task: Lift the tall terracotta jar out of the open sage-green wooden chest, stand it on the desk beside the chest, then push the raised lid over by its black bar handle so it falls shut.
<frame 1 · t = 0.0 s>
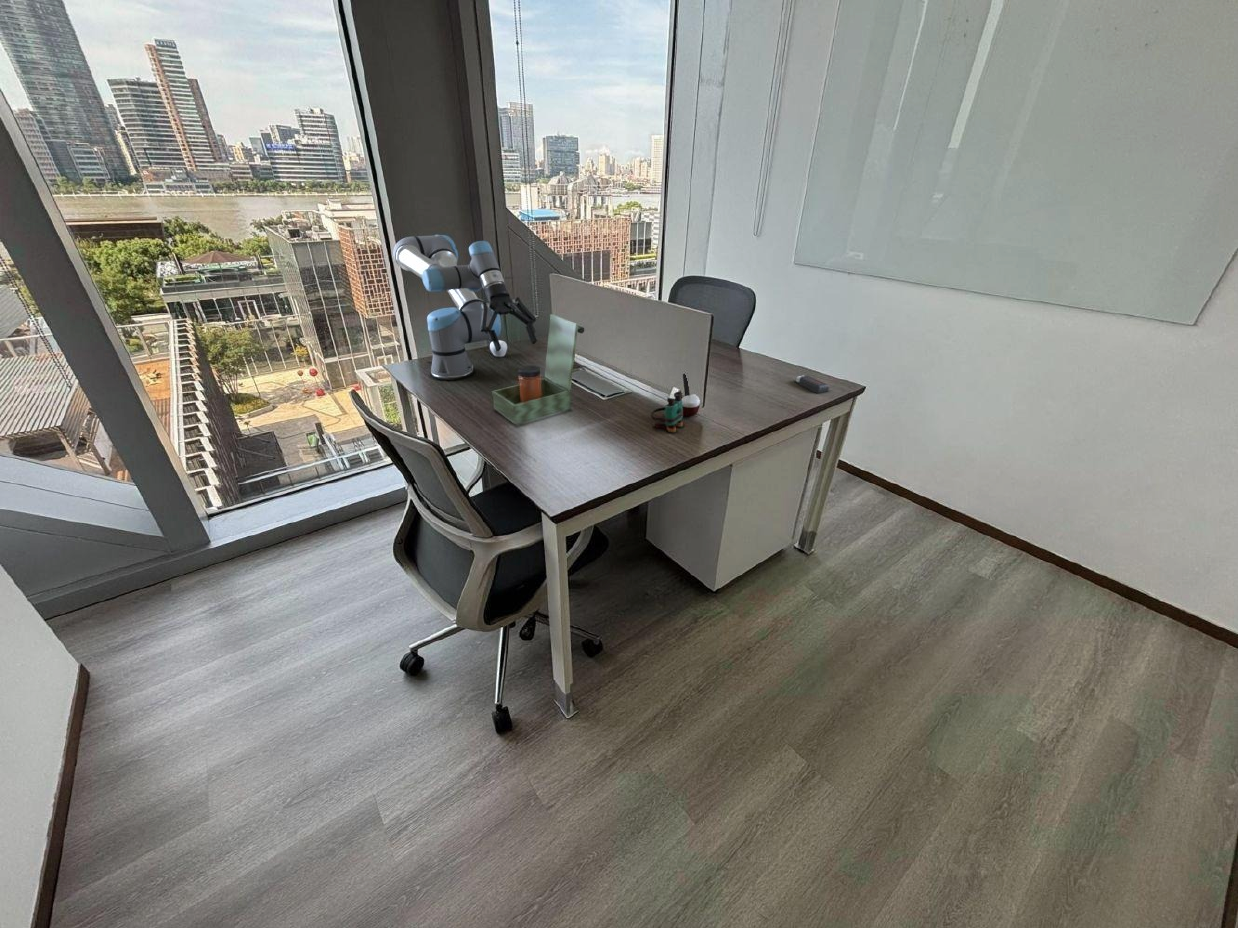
hand: (517, 346, 166), 15 cm above the table, tool tilted 35°, fingers open, 13 cm apart
chest: (532, 410, 157), on the table
plain white apple: (499, 356, 205), on the table
jar: (532, 408, 157), point 1 cm above the table, touching chest
rice bowl with chopsticks: (688, 414, 157), on the table
usb drive: (810, 387, 180), on the table
beverage can: (559, 378, 183), on the table
binoculars: (665, 426, 150), on the table
lid: (567, 351, 157), point 17 cm above the table, hinge at 100.0°
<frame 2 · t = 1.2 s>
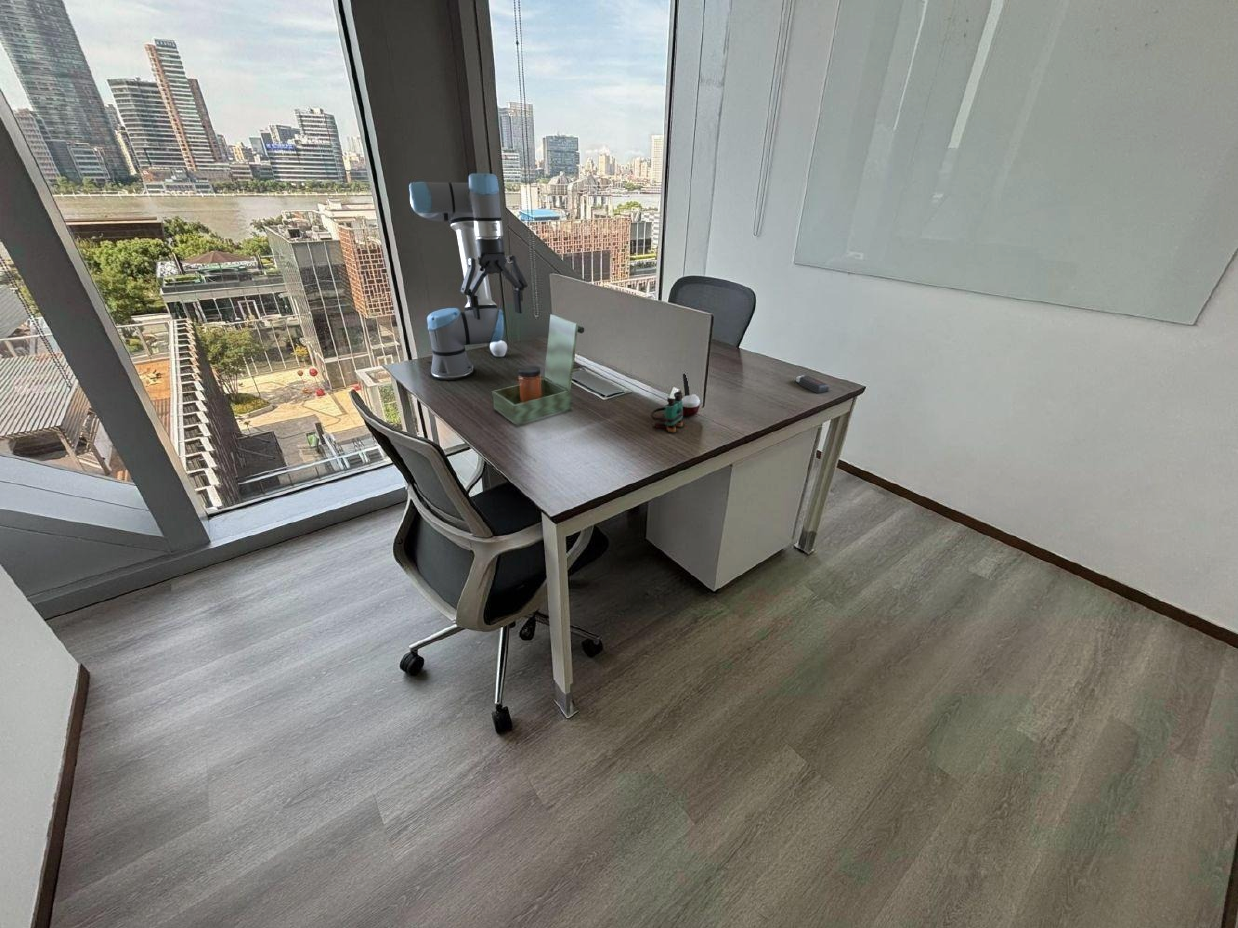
hand: (498, 315, 146), 29 cm above the table, tool pointing down, fingers open, 13 cm apart
nothing on the table moved.
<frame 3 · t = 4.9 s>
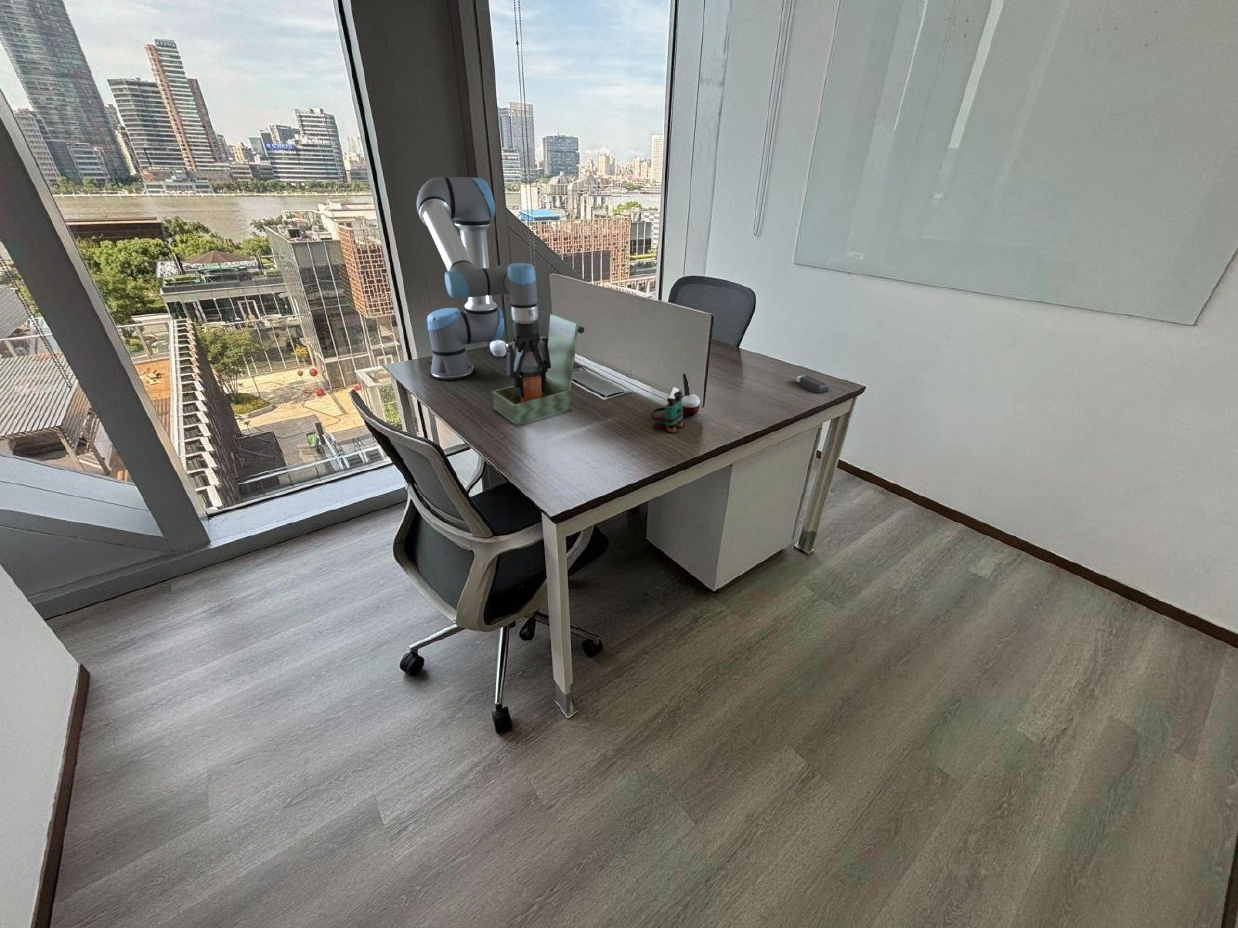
hand: (531, 393, 154), 6 cm above the table, tool pointing down, fingers closed on jar, 7 cm apart
jar: (532, 408, 157), point 1 cm above the table, touching chest, gripper
everything else where it was.
when the fingers open (5 cm above the table, at t = 11.6 s): jar stays where it is, on the table.
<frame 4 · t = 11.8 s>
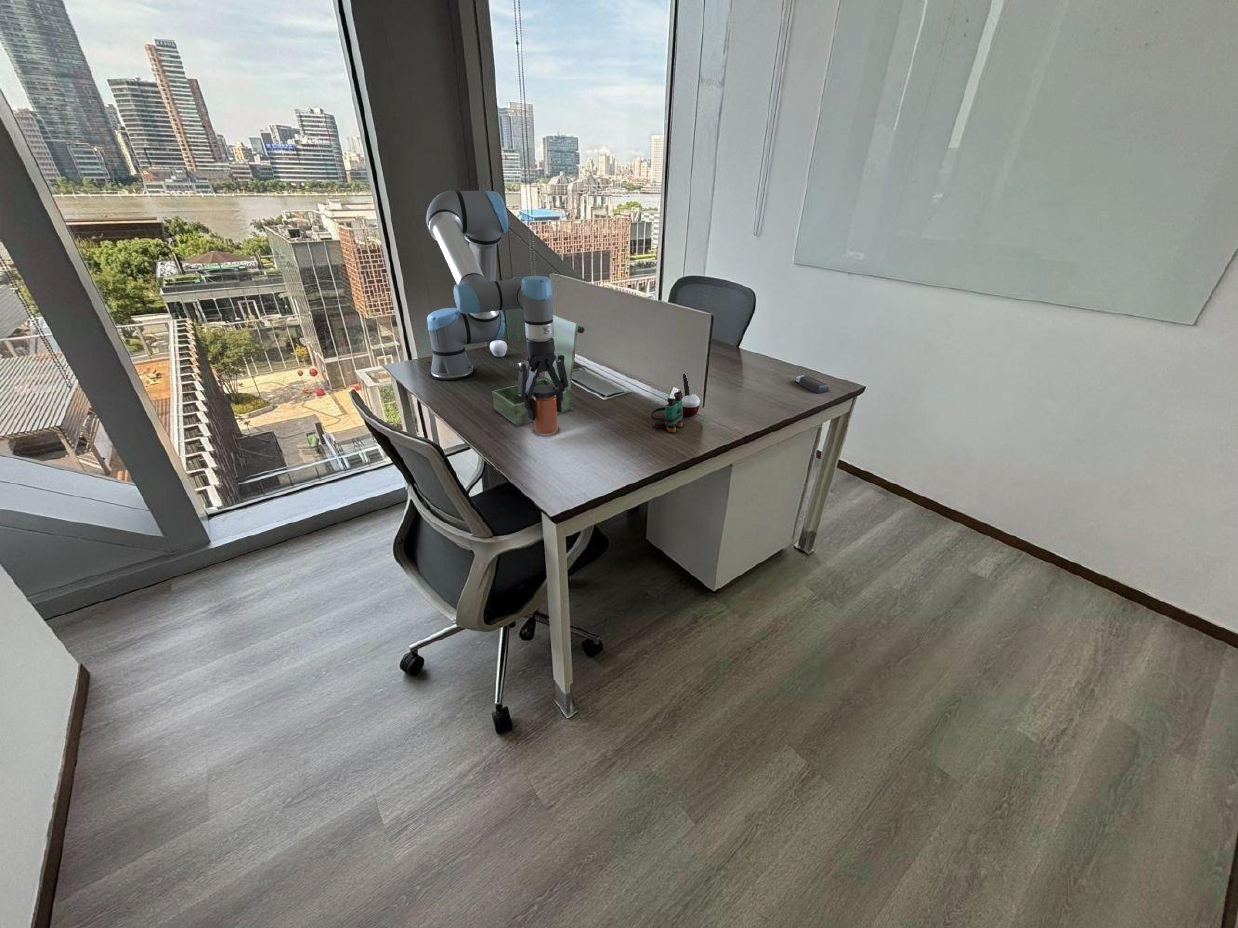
hand: (545, 414, 143), 5 cm above the table, tool pointing down, fingers open, 8 cm apart
jar: (546, 430, 145), on the table
everything else where it was.
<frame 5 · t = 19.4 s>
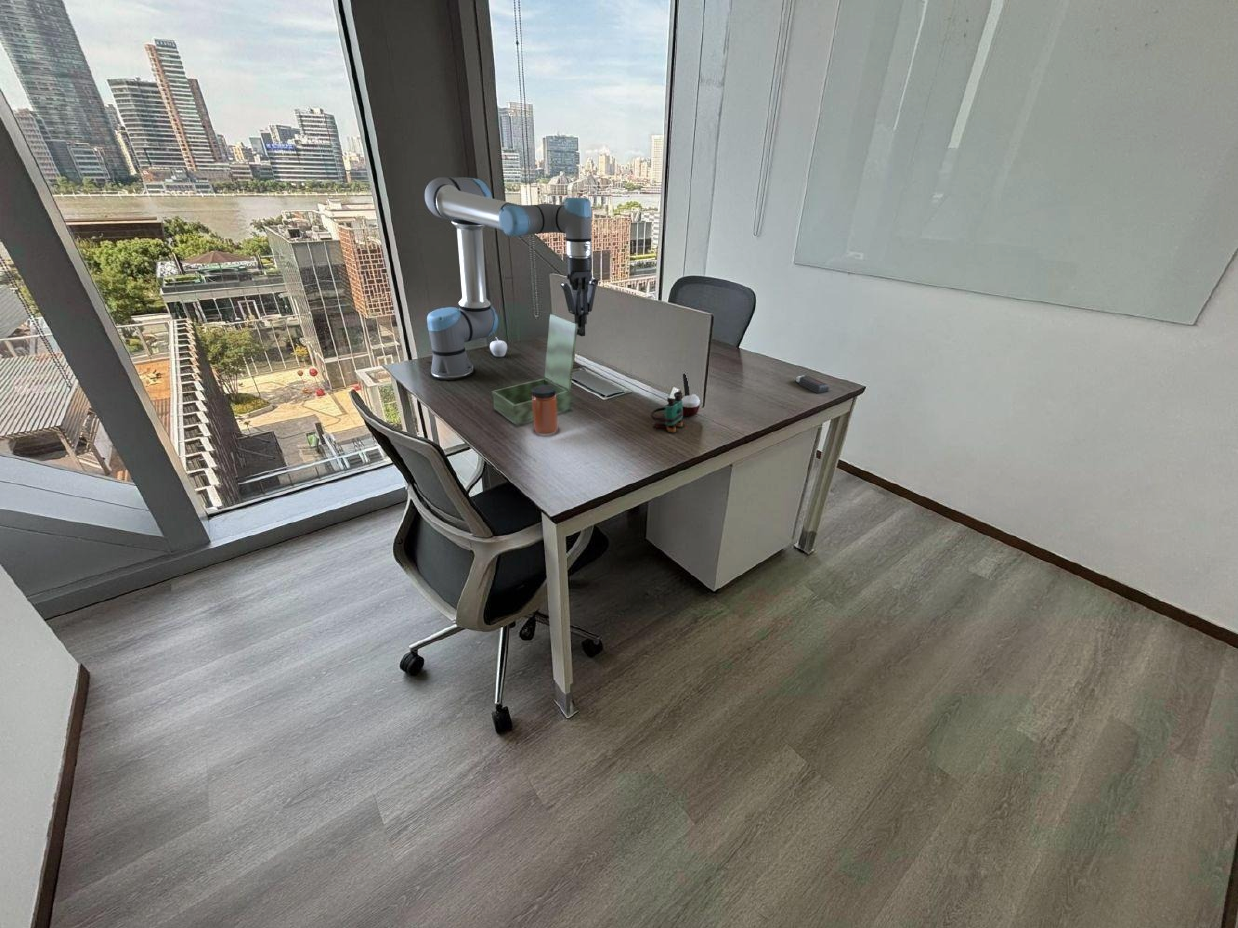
hand: (581, 335, 157), 21 cm above the table, tool pointing down, fingers closed
lid: (566, 351, 156), point 17 cm above the table, hinge at 99.6°, touching gripper
everything else where it was.
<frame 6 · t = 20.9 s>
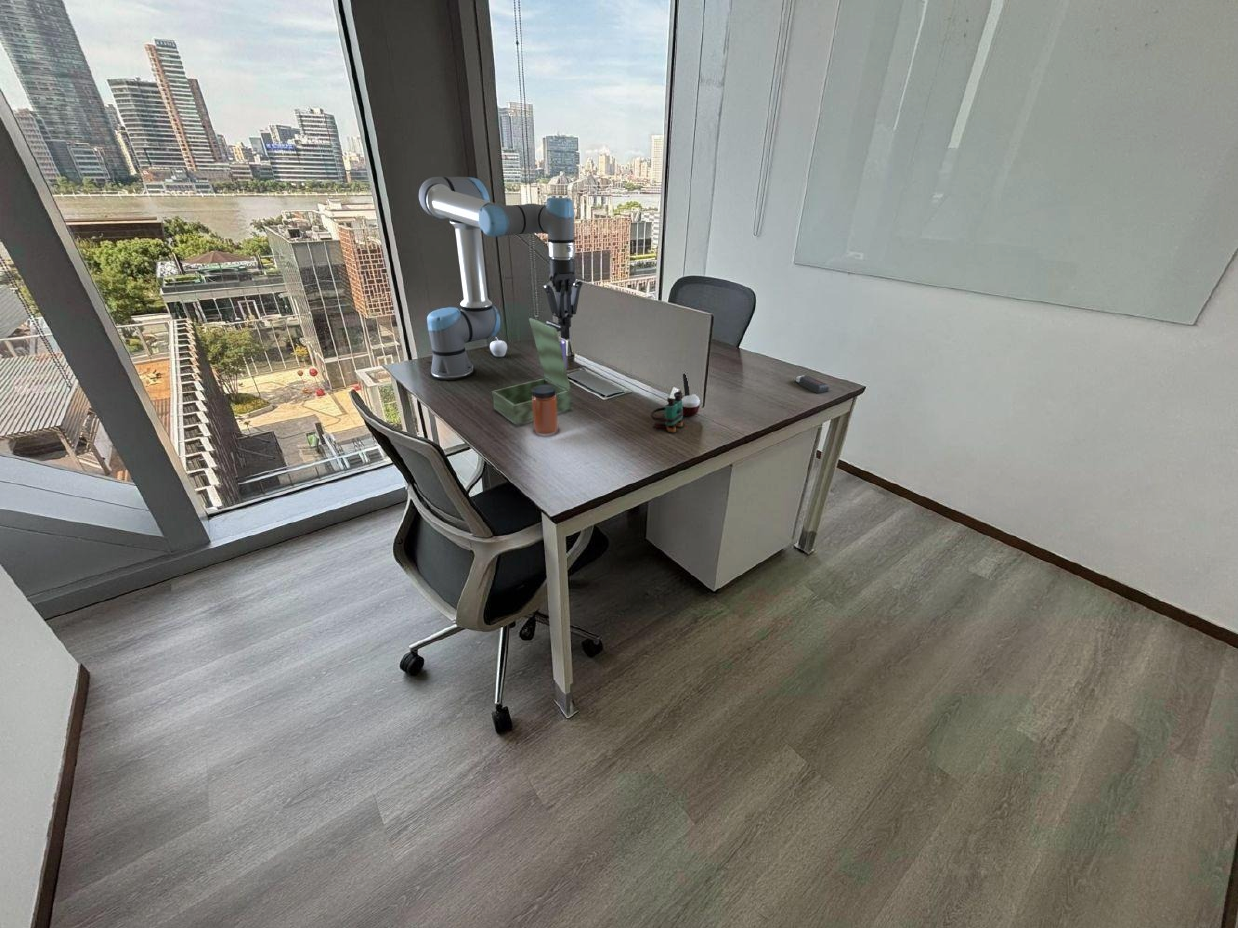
hand: (565, 338, 154), 21 cm above the table, tool pointing down, fingers closed
lid: (556, 351, 154), point 18 cm above the table, hinge at 77.9°
everything else where it was.
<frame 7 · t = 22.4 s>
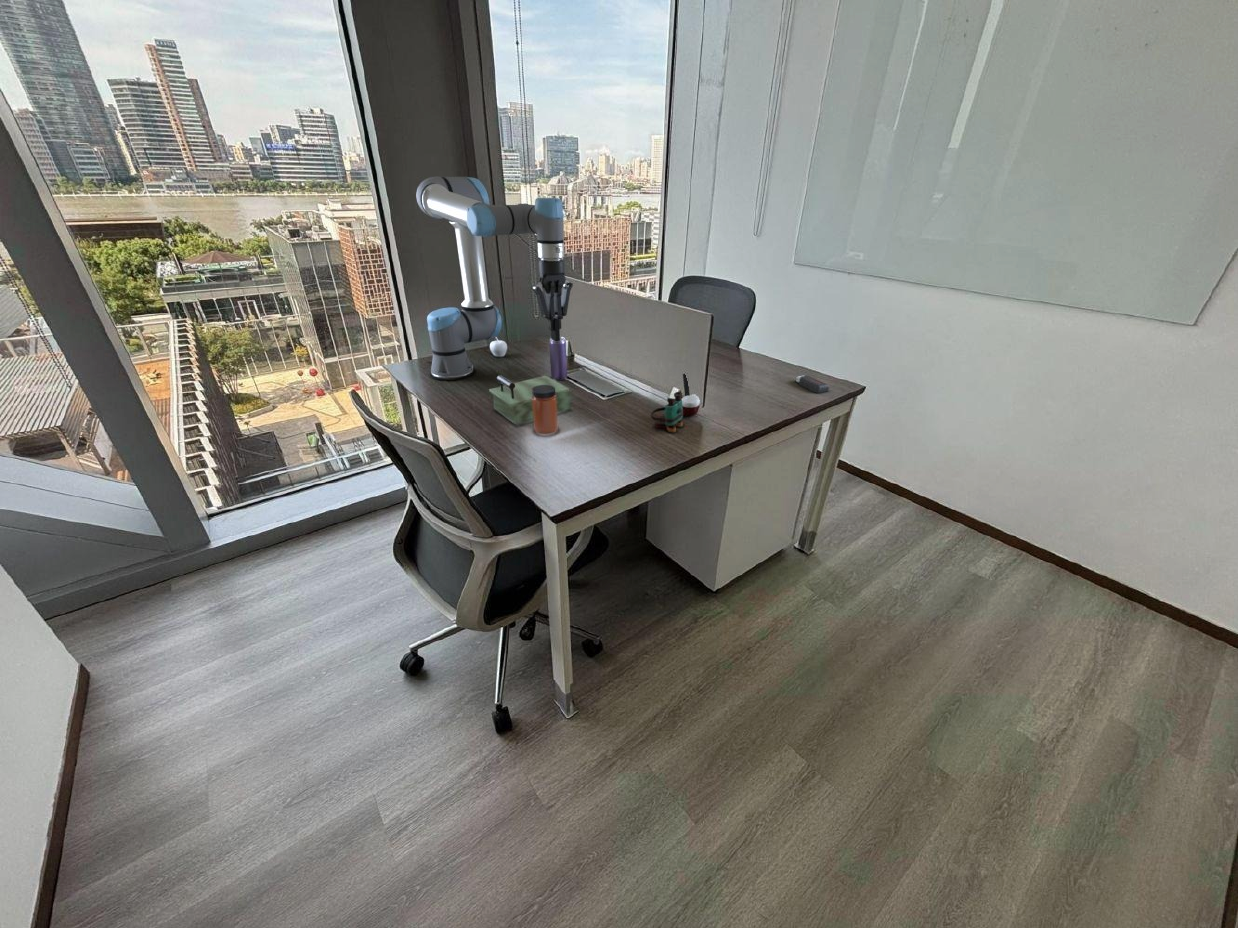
hand: (555, 340, 152), 21 cm above the table, tool pointing down, fingers closed
lid: (529, 382, 152), point 10 cm above the table, hinge at -0.1°
everything else where it was.
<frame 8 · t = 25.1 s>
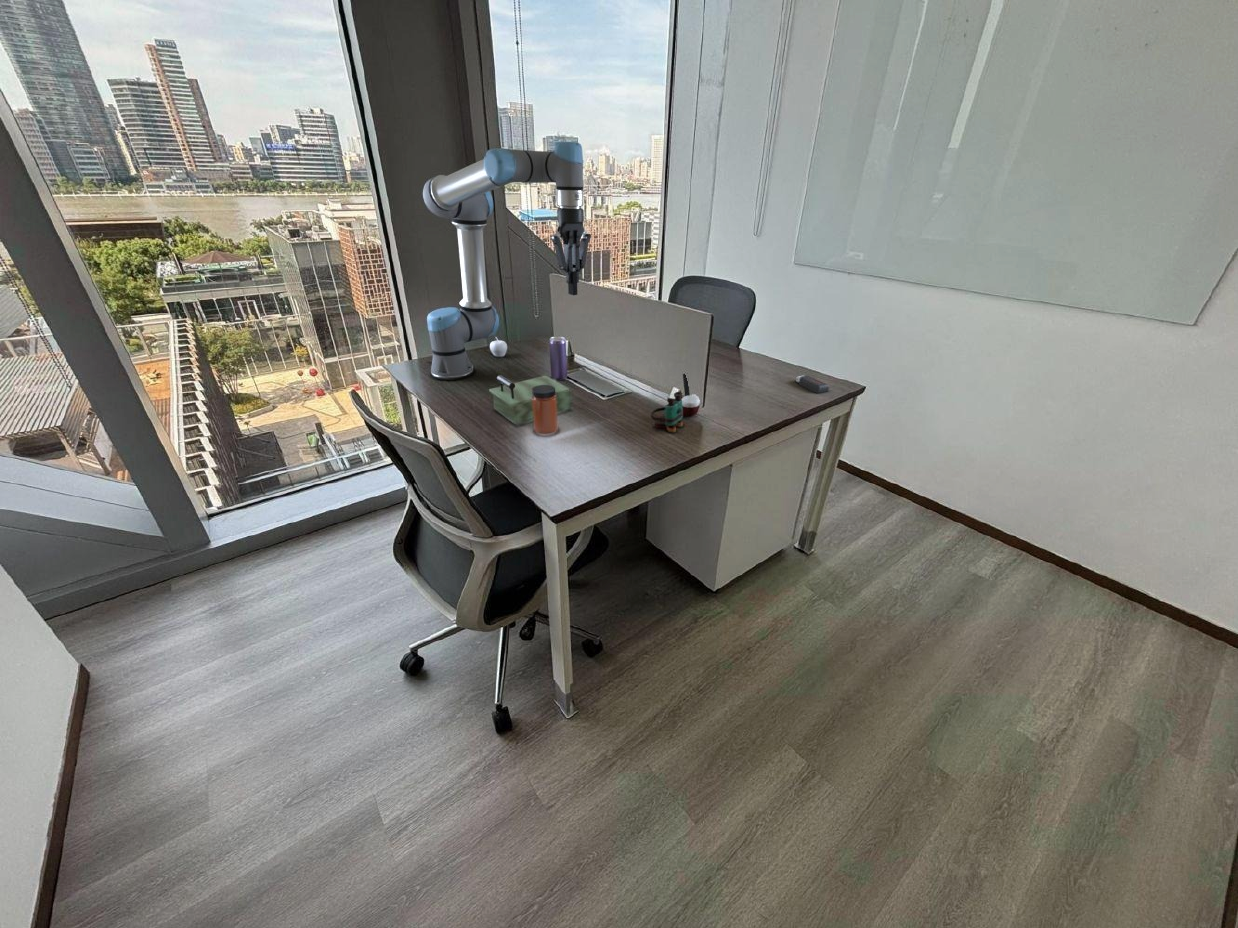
hand: (572, 294, 149), 34 cm above the table, tool pointing down, fingers closed
nothing on the table moved.
at the end: jar inside the target area (0.0 cm from its centre), on the table; jar tilted 0°; lid at +0° (first picture: +100°) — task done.
